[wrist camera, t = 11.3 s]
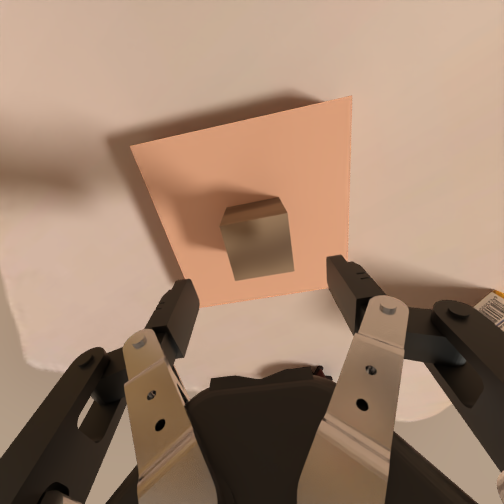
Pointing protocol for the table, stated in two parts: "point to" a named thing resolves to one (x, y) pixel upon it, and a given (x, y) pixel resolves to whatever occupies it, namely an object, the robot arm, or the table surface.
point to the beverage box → (493, 308)
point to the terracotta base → (254, 194)
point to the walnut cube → (257, 239)
